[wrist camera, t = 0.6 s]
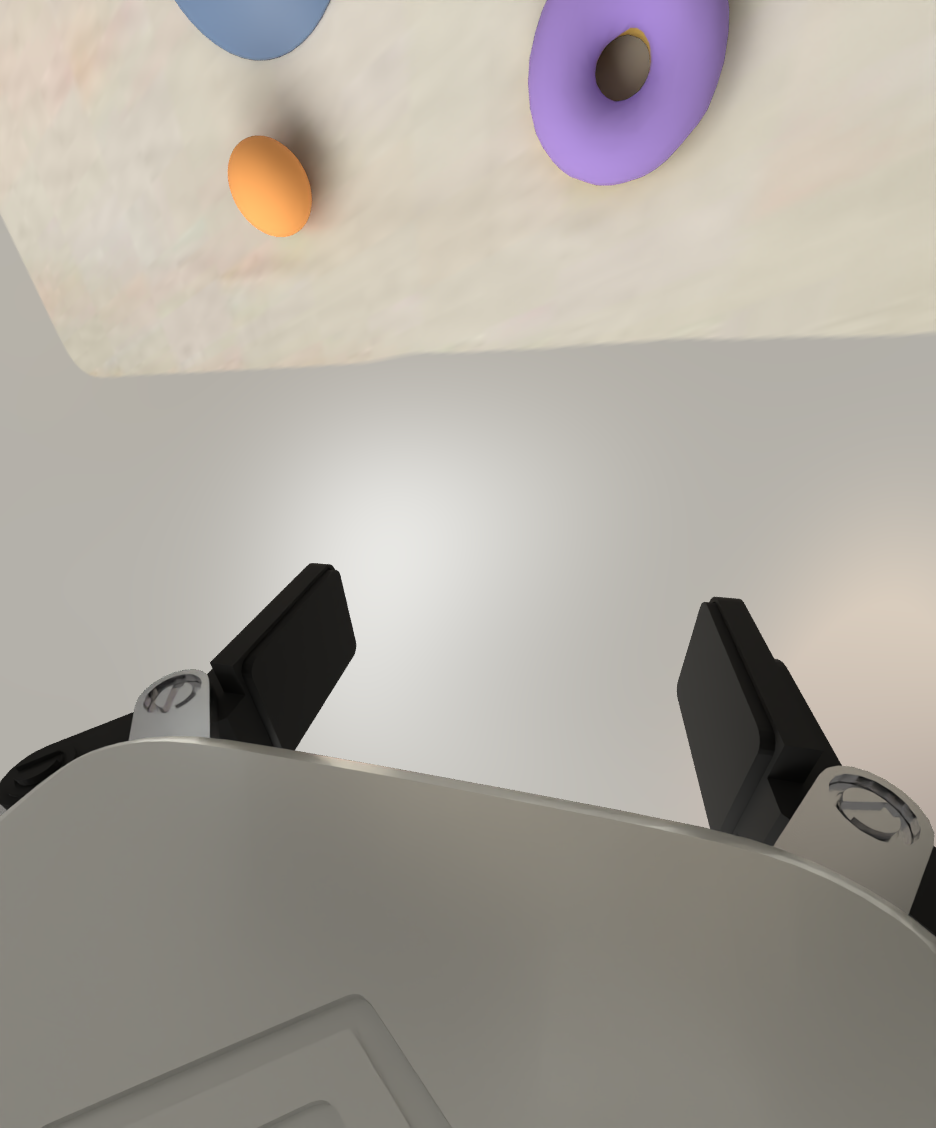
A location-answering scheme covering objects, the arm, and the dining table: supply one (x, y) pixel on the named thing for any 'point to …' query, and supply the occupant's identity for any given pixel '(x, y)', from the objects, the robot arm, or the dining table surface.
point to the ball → (269, 186)
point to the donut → (651, 116)
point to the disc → (255, 24)
